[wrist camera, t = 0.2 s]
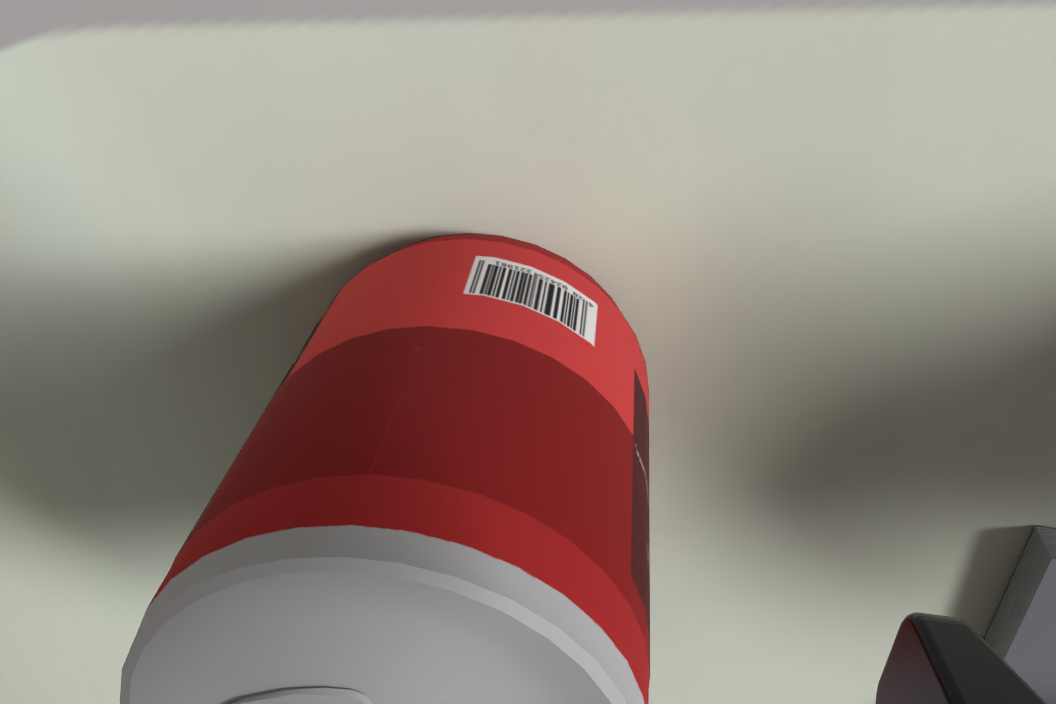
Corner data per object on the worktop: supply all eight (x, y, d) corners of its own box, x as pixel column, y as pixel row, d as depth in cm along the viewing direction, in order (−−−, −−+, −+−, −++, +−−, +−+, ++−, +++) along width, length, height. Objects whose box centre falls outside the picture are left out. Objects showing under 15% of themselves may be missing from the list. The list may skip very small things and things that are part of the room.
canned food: (270, 269, 23) (13, 610, 14) (596, 179, 22) (554, 506, 12) (392, 517, 27) (253, 924, 18) (683, 459, 25) (703, 882, 16)
